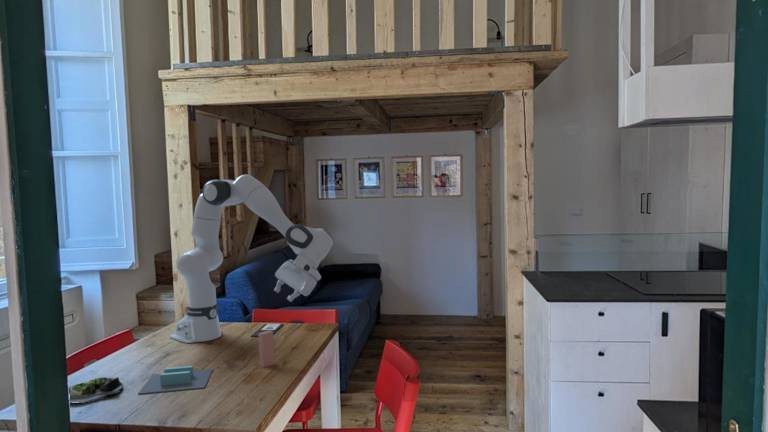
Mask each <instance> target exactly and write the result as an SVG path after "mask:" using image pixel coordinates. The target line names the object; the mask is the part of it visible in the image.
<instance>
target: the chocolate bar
mask: <svg viewBox="0 0 768 432" xmlns="http://www.w3.org/2000/svg"><path fill="white" fill-rule="evenodd" d="M283 326H284V324H283V323H270V324H269V323H264V324H263V325H262V326H261V327H260V328H258V329H257V330H255V332H253V333H252V334H251V335H250V338H259V335H258V333H261V332H265V331H272V332H273V336H274V335H275V334H276V333H277V332H278V331H279V330H280V329H281V328H282V327H283Z"/></svg>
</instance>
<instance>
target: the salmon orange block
mask: <svg viewBox="0 0 768 432" xmlns="http://www.w3.org/2000/svg"><path fill="white" fill-rule="evenodd" d="M258 335H259V337H258V353H259V354H258V358H259V367H261V368H266V367H269V366H273V365H275V351H274V350H275V349H274V345H275V344H274V335H273V332H272V331H265V332H261V333H258Z"/></svg>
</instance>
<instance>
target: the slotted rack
mask: <svg viewBox="0 0 768 432" xmlns="http://www.w3.org/2000/svg"><path fill="white" fill-rule="evenodd" d="M163 371H164V372H163V373H160V374H161V375H160V381H161V386H163V385H173V384H184V383H190V382H191V377H193V376H194V371H195V370H194V365H185V366H174V367H165V368H164V369H163Z"/></svg>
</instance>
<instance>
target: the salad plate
mask: <svg viewBox="0 0 768 432" xmlns="http://www.w3.org/2000/svg"><path fill="white" fill-rule="evenodd" d="M68 387H69V394H70V404H69V405H71V403H72V402H79V403H82V402H88V403H90V402H89V401H92V402H95V401H94V400H96V401H99V400H102V398H103V399H106V397H107V398H110V397H113V396H115V395H117V393H118V394H119V393H121V392H122V391H123V389H124V384H123V383H122V382H121V381H120V379H119V376H117V377H113V376H108V377H106V376H105V377H97V378H94V379H93V378H92V379H89V381H85V382H81V383H77V384H74V385H71V386H68ZM98 399H99V400H98Z"/></svg>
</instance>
